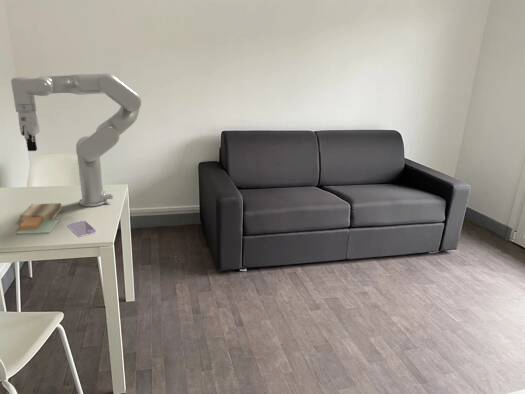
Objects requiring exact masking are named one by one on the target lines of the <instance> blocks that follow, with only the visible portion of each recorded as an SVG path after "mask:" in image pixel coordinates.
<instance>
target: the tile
mask: <svg viewBox="0 0 525 394" xmlns="http://www.w3.org/2000/svg"><path fill="white" fill-rule="evenodd" d="M42 222H43V217H27V218H26V219H25V220H24V221H23V222H20V223H21V224H20V225H19V230H33V229H37V228H38V227H39V225H40V224H41V223H42Z"/></svg>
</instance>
